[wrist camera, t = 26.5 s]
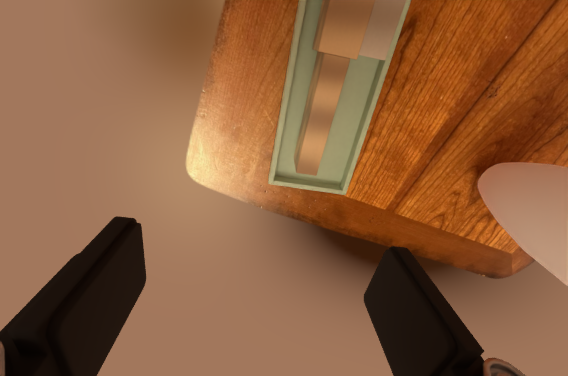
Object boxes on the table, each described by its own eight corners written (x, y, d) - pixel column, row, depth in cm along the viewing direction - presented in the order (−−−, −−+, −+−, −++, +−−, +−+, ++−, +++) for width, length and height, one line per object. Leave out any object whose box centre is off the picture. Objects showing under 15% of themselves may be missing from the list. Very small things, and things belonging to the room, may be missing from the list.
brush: (335, 164, 32) (343, 180, 28) (288, 157, 31) (290, 172, 27) (393, -12, 22) (415, -20, 19) (328, -29, 22) (338, -40, 18)
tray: (268, 177, 32) (268, 184, 31) (302, -25, 23) (305, -32, 21) (341, 188, 34) (345, 195, 32) (402, 0, 24) (412, -4, 23)
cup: (435, 152, 32) (681, 286, 13) (519, 119, 31) (937, 215, 11) (444, 213, 37) (636, 380, 17) (517, 187, 35) (814, 337, 16)
